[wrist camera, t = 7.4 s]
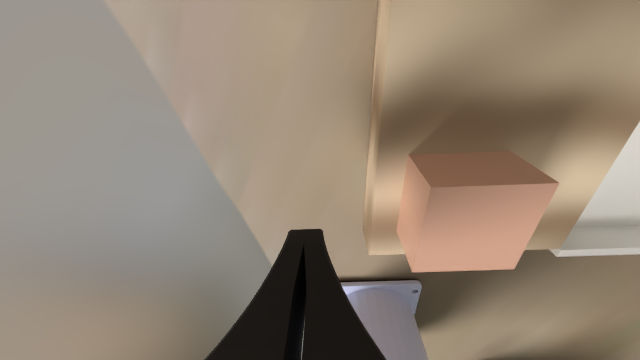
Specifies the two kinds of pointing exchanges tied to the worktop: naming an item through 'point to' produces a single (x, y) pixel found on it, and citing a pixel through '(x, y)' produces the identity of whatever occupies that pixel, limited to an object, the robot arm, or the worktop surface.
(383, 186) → the board
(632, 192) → the tray
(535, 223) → the salmon pink block
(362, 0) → the worktop surface
